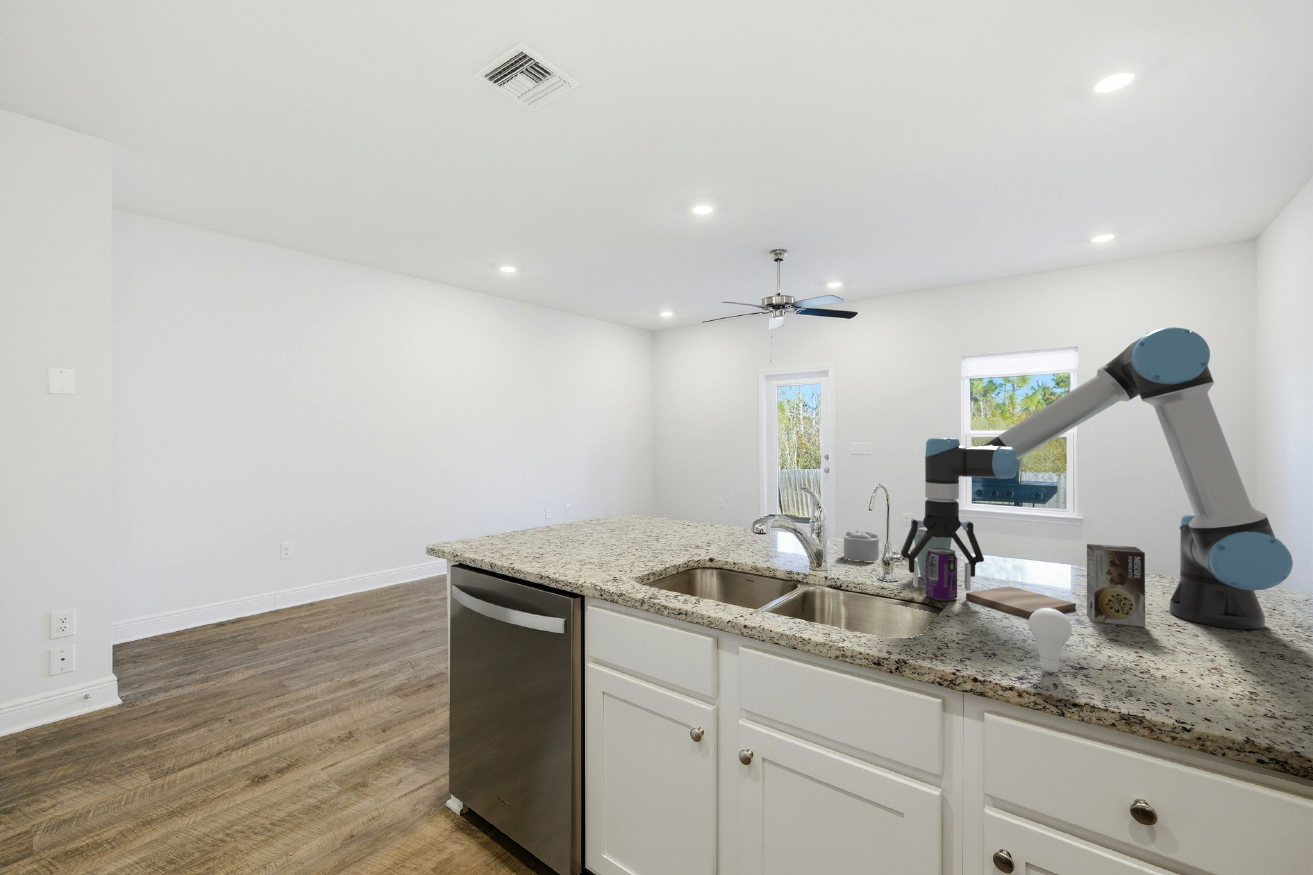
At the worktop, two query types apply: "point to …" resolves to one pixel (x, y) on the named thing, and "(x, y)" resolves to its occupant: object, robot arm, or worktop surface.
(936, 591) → the beverage can
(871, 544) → the lumpy-topped squat cylinder
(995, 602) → the walnut board
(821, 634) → the worktop surface
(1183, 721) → the worktop surface
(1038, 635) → the lightbulb
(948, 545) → the disposable coffee cup
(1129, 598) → the coffee box
